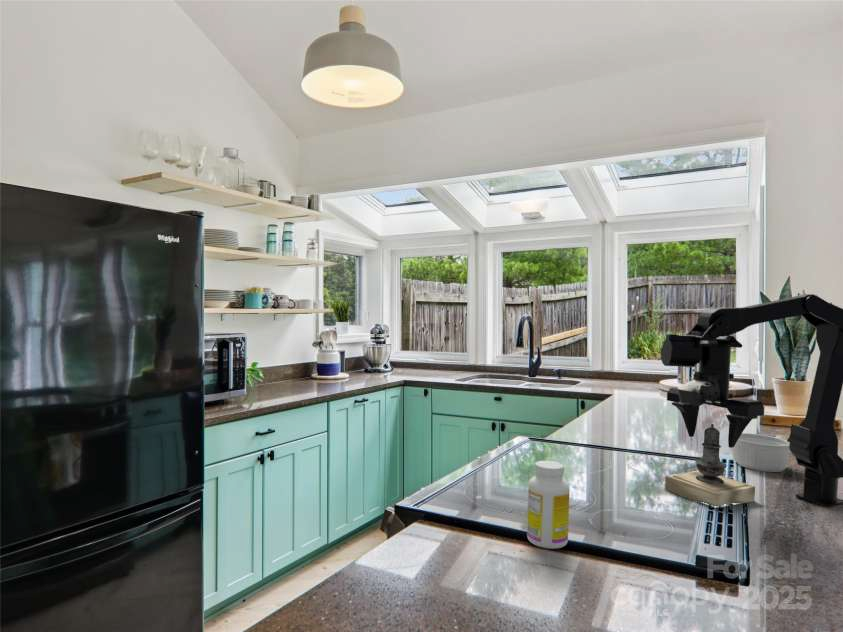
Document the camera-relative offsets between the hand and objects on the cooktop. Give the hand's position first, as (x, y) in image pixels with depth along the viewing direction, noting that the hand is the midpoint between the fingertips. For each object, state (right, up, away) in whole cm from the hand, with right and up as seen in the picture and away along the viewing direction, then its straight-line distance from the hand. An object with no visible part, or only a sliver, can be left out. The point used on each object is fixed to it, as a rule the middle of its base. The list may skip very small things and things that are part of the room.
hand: (710, 441), depth 116 cm
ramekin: (+25, -12, +24) cm, 37 cm away
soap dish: (0, -11, 0) cm, 11 cm away
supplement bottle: (-40, -11, -25) cm, 49 cm away
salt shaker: (0, -8, 0) cm, 8 cm away
